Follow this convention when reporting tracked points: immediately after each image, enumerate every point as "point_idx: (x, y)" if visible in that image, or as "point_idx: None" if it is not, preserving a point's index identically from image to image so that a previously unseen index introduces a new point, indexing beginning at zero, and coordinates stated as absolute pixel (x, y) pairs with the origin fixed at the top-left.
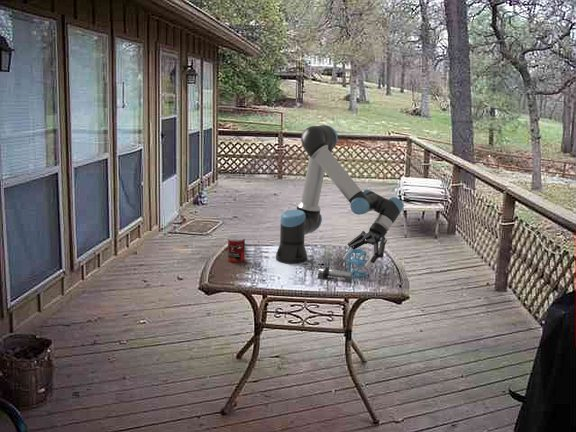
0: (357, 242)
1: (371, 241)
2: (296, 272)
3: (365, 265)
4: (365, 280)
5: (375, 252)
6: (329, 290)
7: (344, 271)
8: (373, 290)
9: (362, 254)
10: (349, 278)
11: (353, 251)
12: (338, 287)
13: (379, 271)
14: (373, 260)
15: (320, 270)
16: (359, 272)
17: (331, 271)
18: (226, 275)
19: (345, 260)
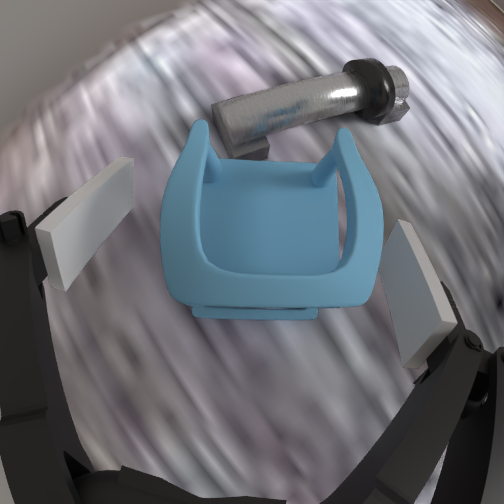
0: (438, 414)
1: (122, 487)
2: (473, 109)
3: (124, 159)
4: (157, 212)
5: (13, 254)
6: (226, 2)
7: (265, 95)
8: (65, 111)
9: (172, 177)
10: (215, 105)
11: (348, 219)
12: (216, 37)
13: (194, 449)
14: (53, 205)
15: (386, 66)
16: (263, 309)
17: (335, 74)
18: (497, 19)
19: (386, 244)
